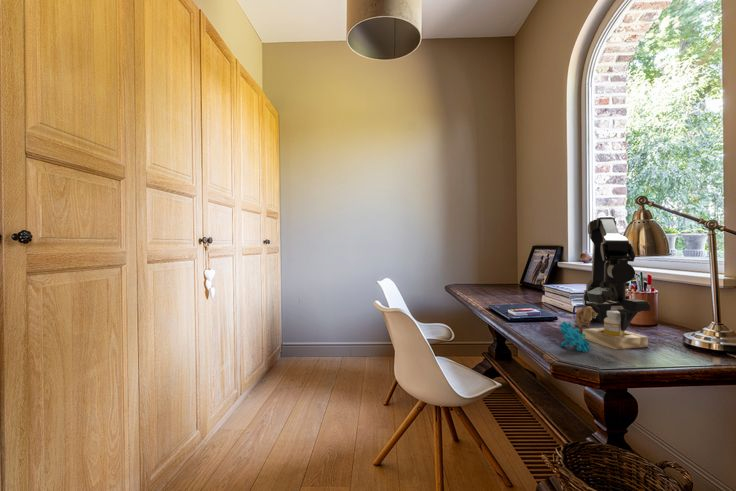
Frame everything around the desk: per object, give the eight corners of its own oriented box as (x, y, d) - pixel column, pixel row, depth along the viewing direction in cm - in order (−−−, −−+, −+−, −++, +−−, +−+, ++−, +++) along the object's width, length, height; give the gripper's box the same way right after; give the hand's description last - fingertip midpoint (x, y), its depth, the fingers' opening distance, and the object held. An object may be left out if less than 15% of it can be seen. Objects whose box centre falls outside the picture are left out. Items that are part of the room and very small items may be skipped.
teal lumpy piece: (579, 350, 100) (557, 319, 106) (563, 361, 103) (542, 330, 110) (599, 349, 106) (577, 320, 112) (583, 359, 109) (562, 331, 116)
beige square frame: (612, 336, 121) (612, 327, 121) (647, 346, 109) (647, 336, 109) (582, 338, 118) (582, 329, 118) (614, 349, 106) (615, 339, 106)
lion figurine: (599, 333, 124) (599, 307, 124) (582, 332, 125) (582, 307, 125) (583, 323, 139) (583, 300, 138) (568, 323, 140) (568, 299, 139)
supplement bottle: (614, 339, 117) (615, 309, 117) (628, 344, 111) (629, 313, 111) (599, 340, 116) (600, 310, 116) (613, 345, 111) (613, 313, 110)
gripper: (570, 276, 121) (569, 322, 121) (620, 283, 102) (619, 337, 103) (598, 275, 123) (597, 321, 123) (652, 282, 105) (650, 335, 105)
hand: (613, 328), depth 114 cm, fingers open, 6 cm apart
